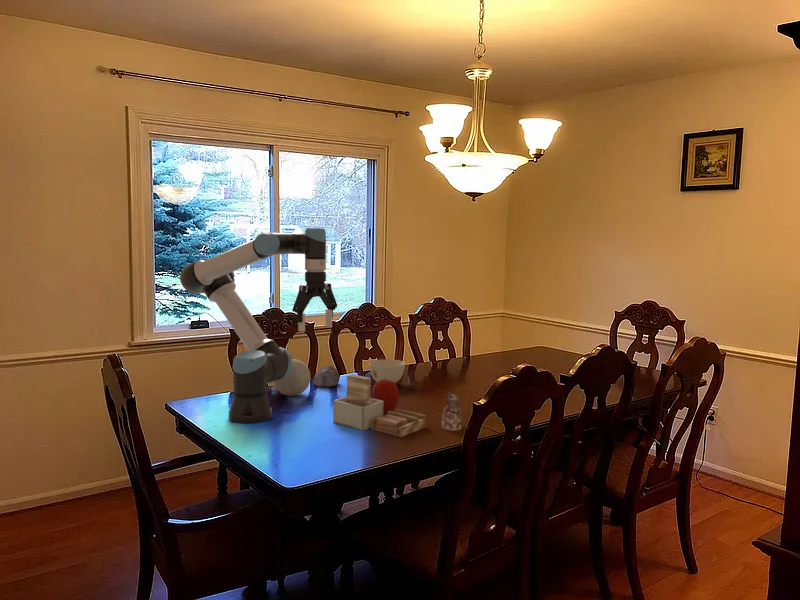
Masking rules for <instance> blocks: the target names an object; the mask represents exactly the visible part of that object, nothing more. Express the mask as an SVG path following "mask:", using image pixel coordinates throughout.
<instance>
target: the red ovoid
mask: <svg viewBox="0 0 800 600" xmlns="http://www.w3.org/2000/svg"><path fill="white" fill-rule="evenodd" d="M371 389H372V390H371V398H373V399H377V400H381V401H384V415H387V411H392V412H395V409H396V408H397V406H398V404H399V401H400V400H399V399H400V390H399V387H398V386H397V384H396V383H394V382H393V381H390V380H386V377H385V380H379V381H377V382H376V381H375V383H374V384H373V386H372V388H371Z"/></svg>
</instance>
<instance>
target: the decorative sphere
mask: <svg viewBox="0 0 800 600" xmlns="http://www.w3.org/2000/svg"><path fill="white" fill-rule="evenodd" d="M310 382H311V372H310V369H309V367H308V366H307V365H306V363H305V362H303V361H302V360H299V359H295V358H292V368H291V370H290V372H289V373H288V374H287V375H286V376H285V377H283V378H282V379H279V380H275V381H273V384H274V386H275V388H276V389H277V391H279V393H281V394H282V395H285V396H287V397H295V396H298V395H301V394H302V393H304V392H305V391H306V390H307V389H308V387H309V386H310Z"/></svg>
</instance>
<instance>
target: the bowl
mask: <svg viewBox="0 0 800 600" xmlns="http://www.w3.org/2000/svg"><path fill="white" fill-rule="evenodd" d="M368 365H369V371H370V374H371V377H372V378H373V379H374V381H375V383H376V382H377V381H379V380H385V377H386V380H390V381H393V382H394V383H395V384H396V383H397V382H399V381H400V380H401V378H402V377H403V375H404V370H405V368H406V367H405V366H406V362H405V361H402V360H398V359H391V358H389V359H387V358H386V359H374V360H371V361H369V362H368Z"/></svg>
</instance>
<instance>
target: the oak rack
mask: <svg viewBox="0 0 800 600" xmlns="http://www.w3.org/2000/svg"><path fill="white" fill-rule="evenodd" d="M388 414H389V415H393V416H397V417H401V418H405V419H407V423H409V424H406V425H404V426H401V427H399V433H395V432H391V431H387V430H383V429H380V428H376V423H377V418H375V419H373V420H371V428H370V430H373V431H377V432H380V433H384V434H388V435H391V436H395V437H399V438H402V437H405V436H408V435H410V434H412V433H415V432H417V431H420V430H422V429H424V428H425V429H426V427H427V426H426V425H427V424H426V423H427V417H426V414H423V413H418V412H415V411H409V410H405V409H402V408H397V407H396V408H395V410H394V411H387V415H388ZM384 416H385V415H384ZM381 417H382V416H381ZM378 418H380V417H378Z"/></svg>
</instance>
